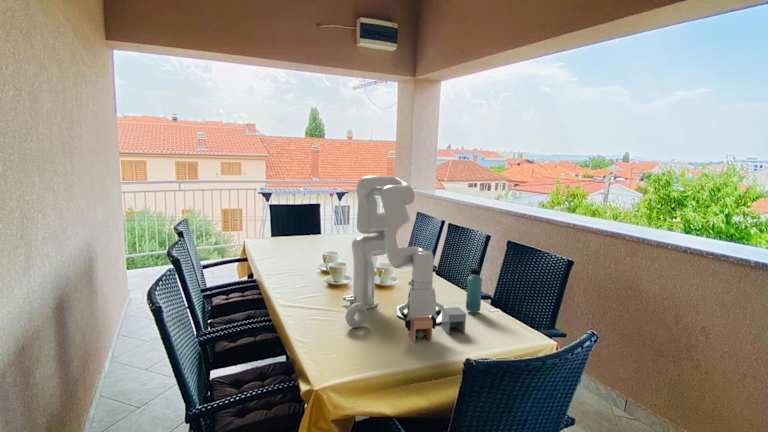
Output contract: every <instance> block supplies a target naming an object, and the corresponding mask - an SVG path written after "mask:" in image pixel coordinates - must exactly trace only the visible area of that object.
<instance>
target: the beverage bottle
mask: <svg viewBox="0 0 768 432" xmlns="http://www.w3.org/2000/svg"><path fill="white" fill-rule="evenodd" d="M470 274H471V275H469V276H468V277H467V284H466V300H465V309H466V311H469V312H473V313H474V312H475V313H476V312H480V310H481V304H482V284H483V278H482V277H481V276H480V275H481V269H480V268H478V267H471V269H470Z"/></svg>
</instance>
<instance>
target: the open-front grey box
mask: <svg viewBox="0 0 768 432" xmlns="http://www.w3.org/2000/svg"><path fill="white" fill-rule="evenodd" d="M466 319H467V313H466V312H465V311H464V310H463V309H462V308H461V307H459V306H456V307H453V306H451V307H448V308H443V310H442V322H441V329H442V330H443V331H444V332H445V333H446V335H448V336H450V331H451V328H458V330H459V331H460V332H461V333H462V334H463V335H464V334H465V333H466V324H467V323H466Z"/></svg>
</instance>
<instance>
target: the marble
mask: <svg viewBox="0 0 768 432" xmlns="http://www.w3.org/2000/svg"><path fill="white" fill-rule="evenodd" d="M424 335H425V334H424V332H423V331H422V330H417V332H416V334H415V337H417V338H419V339H422V338H423V337H424Z"/></svg>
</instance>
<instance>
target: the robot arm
mask: <svg viewBox="0 0 768 432" xmlns="http://www.w3.org/2000/svg"><path fill="white" fill-rule="evenodd" d="M356 194H357V195H356V196H357V202H358V203H357V212H356V213H357V218H356V229H357V231H358V233H360V234H363V235H360V236H358V237H356V238H354V239H353V241H352V242H351V250H352V252H351V253H352V257H353V258H352V259H353V281H352V282H353V285H352V287H353V288H352V289H353V290H352V293H351V295H349V296H348V295H343V296H342V301H346V302H347V303H348V302H349V306H351V305H352V304H355V303H362V304H364V305H365V306H366V308H367V310H368V309H369V310H370V309H373V308H375V307H377V305H378V301H377V300H376V299H375V281H376V280H375V278H376V277H375V276H376V275H375V273H376V272H375V270H376V269H375V267H376V266H375V264H374V262H373V261H372V258H373V257H377V256H383V255H386V257H387V259H388V262H389V264H390V265H391V266H392V267H393V268H395V269H403V268H412V271H411V272H412V273H411V281H408V282H407V283H408V284H407V285H408V286H409V290H408V295H407V296H408V297H407V303H404V304H405V305H403V304H402V305H403V306H401V307H399V311H400V313H401V315H402V316H403V317H404V318H405V319H404V318H403V319H404V327H405V329H406V330H407V331H410V326H411V321H410V318H411V317H412V316H428V315H432V316H431V319H432V320H433V325H432V330H435V329H436V327H437V324H436V319H437V318H438V316H439V315H440V314H441V311H442V310H443V308H444V305H443V304H441V303H438V302H437V299H436V289H435V287H433V281H434V280H433V279H434V277H433V276H434V275H433V274H434V253H433V252H432V251H429V250H425V249H423V247H420V246H417V245H413V246H405V247H399V245H398V243H397V234H398V231H399V230H400V229H402V228H403V227H405V226H406V225H408V224H409V222H410V220H411V219H410V218H411V217H410V215H409V213H408V210H407V207H406V206H410V205H412V204H413V203H414V201H415V191H414V189H413V188H412V187H411V185H410V184H408V182H405V181H403V180H402V179H401V178H399V177H397V176H394V175H366V176H363V177H361V178H359V180H358V181H357V184H356ZM375 196H377V197H378V196H380V200H381V203H382V206H383V209H384V211H378V201H377V199H376V197H375ZM368 234H371V235H368ZM372 234H373V235H372ZM436 306H437V307H439V308H438V310H437V311H436ZM405 309H407V311H408V312H407V313H406V314H405V313H404V310H405Z"/></svg>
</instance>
